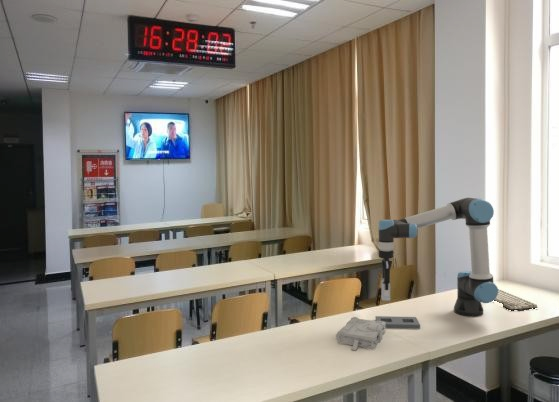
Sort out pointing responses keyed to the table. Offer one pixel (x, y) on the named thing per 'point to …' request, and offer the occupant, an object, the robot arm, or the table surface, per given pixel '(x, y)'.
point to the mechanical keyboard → (513, 302)
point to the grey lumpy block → (361, 333)
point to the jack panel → (399, 322)
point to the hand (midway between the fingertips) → (385, 294)
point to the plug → (383, 292)
